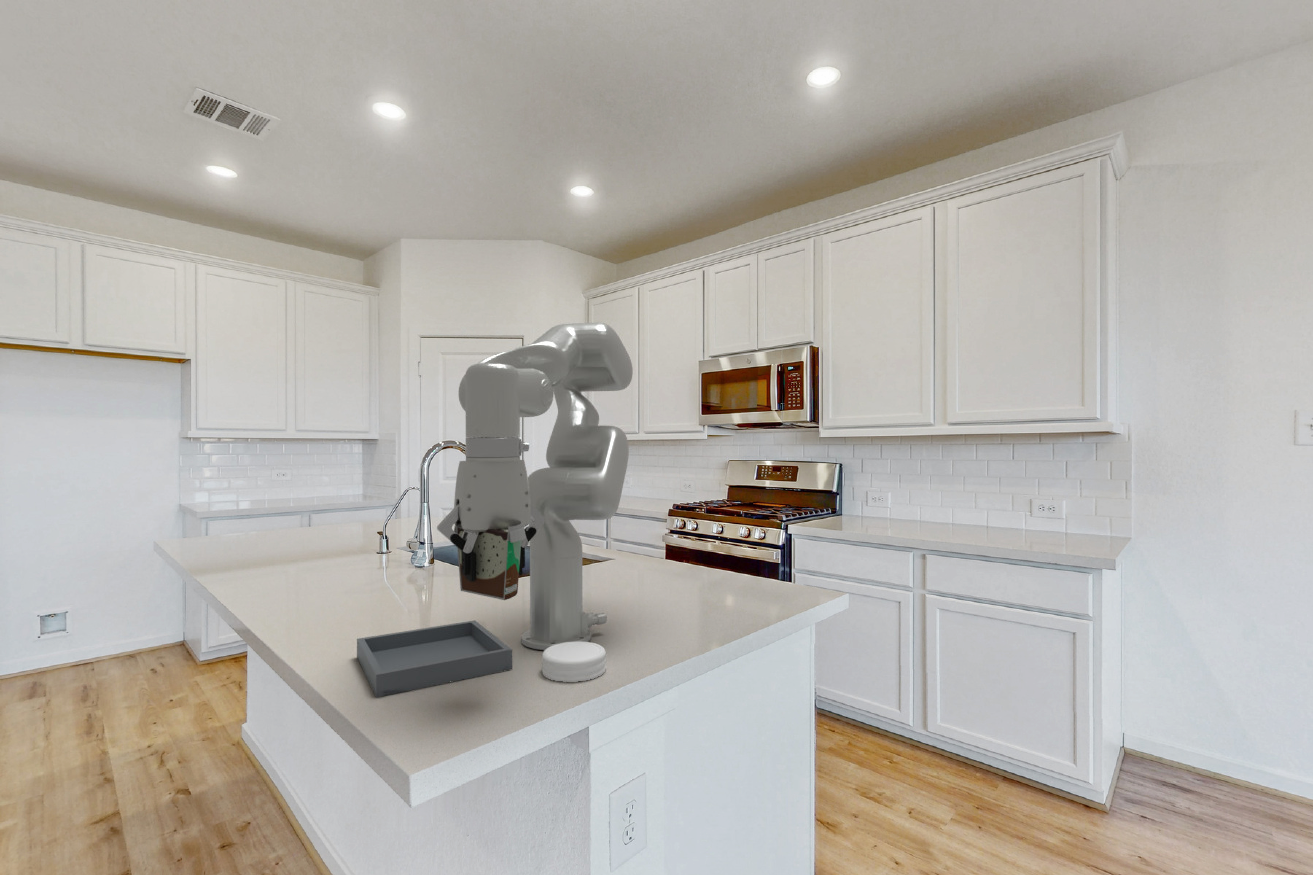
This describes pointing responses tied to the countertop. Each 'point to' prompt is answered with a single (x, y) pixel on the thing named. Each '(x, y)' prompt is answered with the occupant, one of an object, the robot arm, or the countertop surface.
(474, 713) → the countertop surface
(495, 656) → the tray
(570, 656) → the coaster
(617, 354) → the robot arm
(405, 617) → the countertop surface
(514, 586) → the food container
